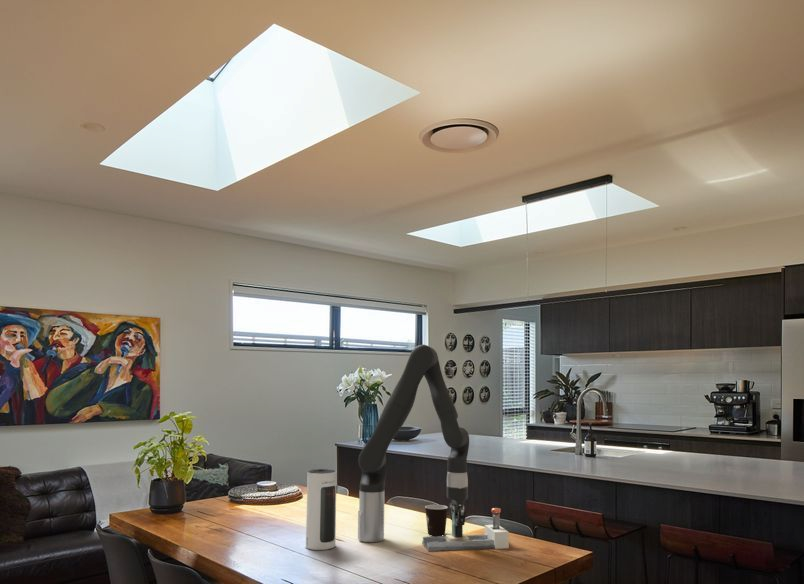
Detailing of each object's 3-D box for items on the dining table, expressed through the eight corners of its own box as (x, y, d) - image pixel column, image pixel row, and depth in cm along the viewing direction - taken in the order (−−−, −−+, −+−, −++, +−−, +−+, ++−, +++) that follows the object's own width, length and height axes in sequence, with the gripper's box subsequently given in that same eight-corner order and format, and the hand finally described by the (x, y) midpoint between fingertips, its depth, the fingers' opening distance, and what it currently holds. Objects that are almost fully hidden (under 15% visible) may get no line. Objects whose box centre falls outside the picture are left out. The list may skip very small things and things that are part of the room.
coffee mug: (446, 537, 229) (446, 509, 230) (423, 536, 230) (423, 508, 232) (450, 530, 240) (450, 503, 241) (428, 529, 242) (428, 502, 243)
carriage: (449, 544, 214) (449, 514, 216) (445, 540, 219) (445, 511, 221) (469, 543, 215) (468, 513, 217) (464, 540, 220) (464, 510, 222)
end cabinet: (495, 548, 214) (494, 532, 215) (484, 540, 225) (484, 525, 225) (508, 548, 215) (508, 531, 216) (497, 540, 226) (497, 524, 226)
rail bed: (428, 551, 210) (428, 543, 210) (422, 543, 220) (422, 536, 220) (504, 548, 215) (504, 540, 216) (494, 540, 225) (494, 533, 225)
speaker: (310, 552, 208) (312, 472, 212) (300, 544, 217) (303, 468, 221) (339, 548, 213) (341, 470, 216) (329, 541, 222) (330, 466, 226)
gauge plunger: (493, 536, 218) (493, 509, 220) (490, 534, 221) (490, 508, 223) (502, 536, 219) (501, 509, 220) (499, 534, 222) (498, 507, 223)
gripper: (442, 482, 226) (441, 531, 224) (452, 488, 212) (452, 541, 210) (461, 481, 228) (461, 530, 225) (473, 488, 214) (473, 540, 211)
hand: (457, 535), depth 218 cm, fingers closed on carriage, 3 cm apart
